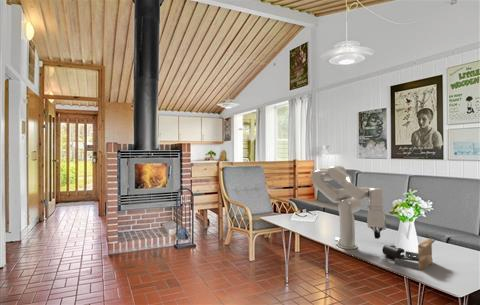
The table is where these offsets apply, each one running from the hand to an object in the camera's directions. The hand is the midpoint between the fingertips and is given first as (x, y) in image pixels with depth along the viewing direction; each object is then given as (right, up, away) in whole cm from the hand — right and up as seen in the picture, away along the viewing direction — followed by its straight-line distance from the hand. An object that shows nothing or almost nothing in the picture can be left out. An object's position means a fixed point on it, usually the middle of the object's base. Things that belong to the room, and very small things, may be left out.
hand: (377, 238), depth 186 cm
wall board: (+18, -10, -19) cm, 28 cm away
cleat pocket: (+13, -10, -14) cm, 22 cm away
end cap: (+6, -10, -7) cm, 14 cm away
